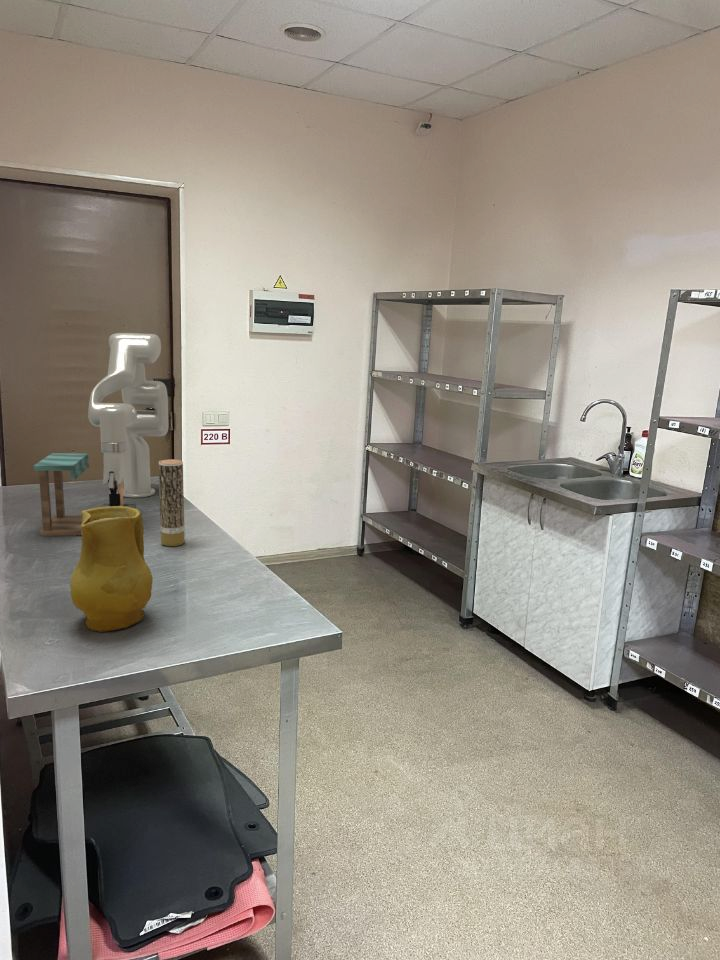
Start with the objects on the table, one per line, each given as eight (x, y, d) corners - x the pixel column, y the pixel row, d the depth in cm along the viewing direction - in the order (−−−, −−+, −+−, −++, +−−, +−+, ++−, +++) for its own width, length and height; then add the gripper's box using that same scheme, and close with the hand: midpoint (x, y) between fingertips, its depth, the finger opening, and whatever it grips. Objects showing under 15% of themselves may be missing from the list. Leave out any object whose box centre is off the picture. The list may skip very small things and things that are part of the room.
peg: (112, 517, 217) (110, 475, 213) (125, 517, 217) (123, 475, 214) (109, 521, 213) (107, 478, 209) (122, 521, 213) (120, 478, 210)
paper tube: (187, 540, 206) (186, 460, 200) (179, 547, 199) (177, 464, 194) (166, 539, 207) (163, 458, 201) (157, 546, 200) (154, 463, 194)
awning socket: (56, 519, 221) (51, 453, 216) (142, 519, 225) (139, 454, 220) (39, 536, 204) (33, 465, 199) (132, 536, 208) (129, 466, 203)
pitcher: (58, 618, 152) (51, 510, 146) (137, 596, 164) (133, 497, 159) (91, 645, 140) (84, 530, 134) (173, 620, 153) (170, 514, 147)
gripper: (107, 441, 217) (109, 497, 221) (95, 452, 201) (98, 511, 205) (131, 442, 218) (133, 497, 222) (121, 452, 202) (123, 511, 206)
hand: (116, 503), depth 214 cm, fingers closed on peg, 4 cm apart
